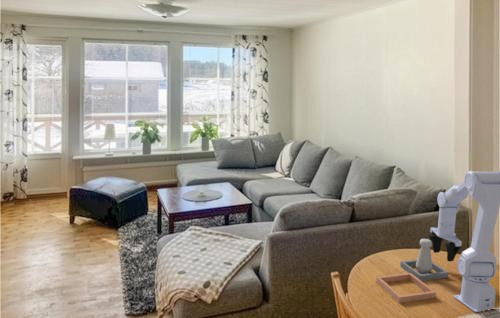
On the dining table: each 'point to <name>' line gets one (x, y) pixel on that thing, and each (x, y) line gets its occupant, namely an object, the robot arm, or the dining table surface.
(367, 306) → the dining table surface
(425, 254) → the salt shaker
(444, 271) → the grey square frame
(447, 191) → the robot arm
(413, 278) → the salmon pink square frame
